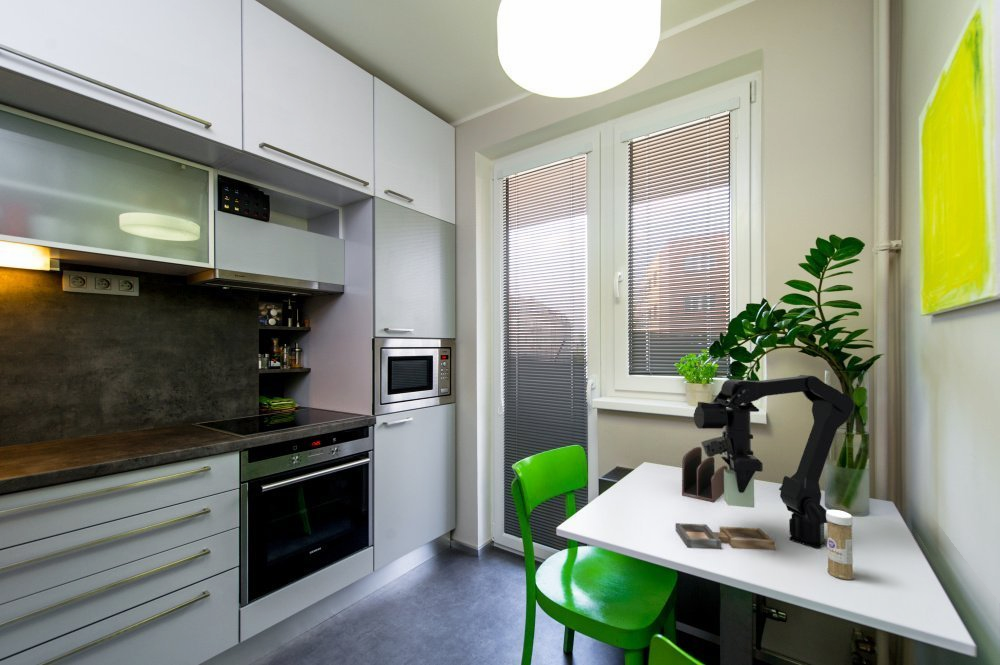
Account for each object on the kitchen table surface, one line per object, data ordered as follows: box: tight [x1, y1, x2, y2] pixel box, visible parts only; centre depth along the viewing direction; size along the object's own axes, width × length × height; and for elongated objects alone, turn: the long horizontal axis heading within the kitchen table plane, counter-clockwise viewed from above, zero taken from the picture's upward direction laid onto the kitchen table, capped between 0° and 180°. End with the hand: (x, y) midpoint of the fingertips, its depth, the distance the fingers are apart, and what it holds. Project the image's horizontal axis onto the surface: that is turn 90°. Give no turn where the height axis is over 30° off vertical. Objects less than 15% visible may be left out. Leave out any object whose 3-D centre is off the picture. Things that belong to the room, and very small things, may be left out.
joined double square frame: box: [675, 522, 776, 551], centre depth 111 cm, size 21×10×2 cm, turn 84°
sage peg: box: [723, 469, 755, 508], centre depth 111 cm, size 6×4×8 cm, turn 75°
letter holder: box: [681, 446, 729, 503], centre depth 149 cm, size 10×20×14 cm, turn 139°
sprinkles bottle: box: [826, 509, 854, 581], centre depth 94 cm, size 5×5×13 cm
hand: (738, 489), depth 111 cm, fingers closed on sage peg, 4 cm apart
